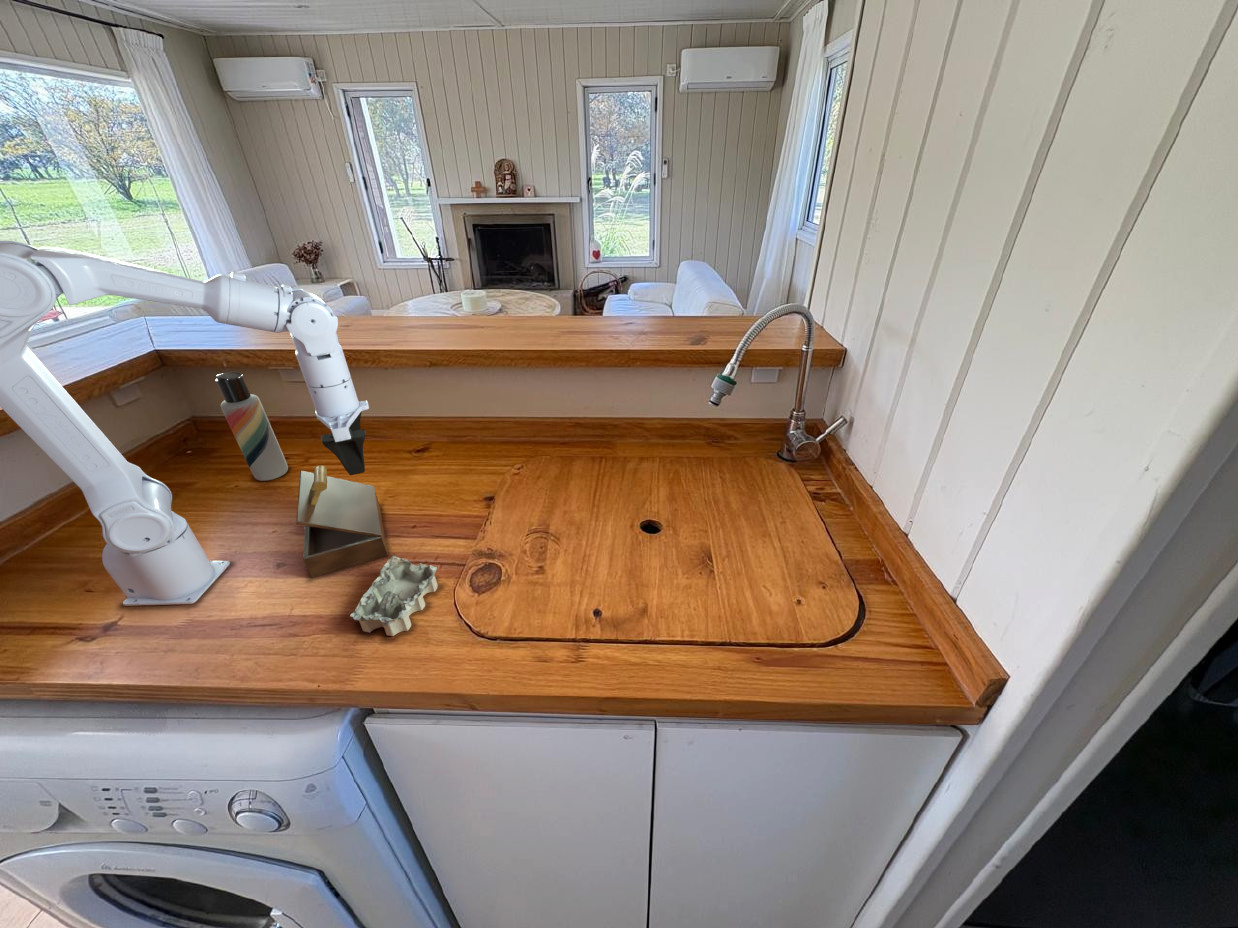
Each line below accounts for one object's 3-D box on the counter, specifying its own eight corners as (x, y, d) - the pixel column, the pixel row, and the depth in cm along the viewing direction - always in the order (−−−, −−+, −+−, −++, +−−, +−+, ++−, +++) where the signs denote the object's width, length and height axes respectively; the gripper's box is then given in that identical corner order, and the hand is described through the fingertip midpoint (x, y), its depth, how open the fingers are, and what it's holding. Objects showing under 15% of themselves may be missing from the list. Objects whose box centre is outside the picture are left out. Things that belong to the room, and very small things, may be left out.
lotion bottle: (256, 469, 96) (210, 371, 85) (290, 462, 98) (249, 366, 87) (252, 484, 91) (203, 383, 81) (287, 477, 93) (244, 377, 83)
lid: (296, 524, 66) (307, 496, 65) (299, 473, 77) (309, 448, 76) (380, 537, 73) (391, 512, 72) (373, 488, 84) (382, 465, 82)
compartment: (311, 578, 71) (303, 559, 69) (313, 522, 82) (305, 505, 80) (387, 556, 75) (381, 537, 73) (379, 505, 86) (374, 488, 84)
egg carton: (401, 572, 72) (394, 551, 70) (447, 581, 70) (442, 560, 68) (349, 630, 63) (340, 607, 61) (401, 642, 61) (393, 619, 59)
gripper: (361, 393, 67) (387, 477, 74) (357, 359, 78) (379, 435, 85) (302, 403, 64) (335, 489, 71) (306, 367, 75) (334, 445, 83)
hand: (356, 461), depth 78 cm, fingers open, 7 cm apart
